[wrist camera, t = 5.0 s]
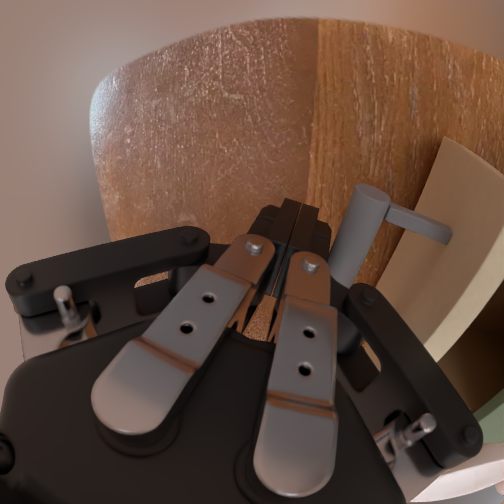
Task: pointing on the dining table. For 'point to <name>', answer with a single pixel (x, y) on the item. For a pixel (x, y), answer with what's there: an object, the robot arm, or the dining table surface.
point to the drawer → (440, 266)
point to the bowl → (468, 475)
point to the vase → (500, 488)
